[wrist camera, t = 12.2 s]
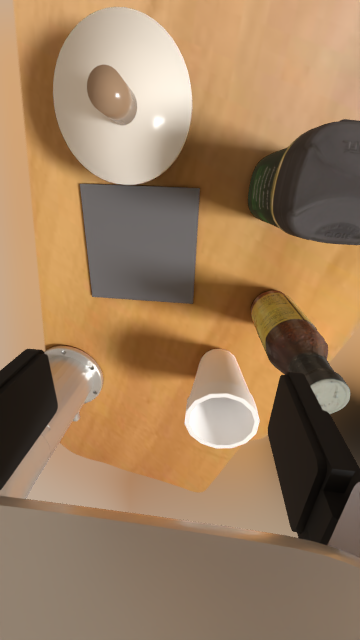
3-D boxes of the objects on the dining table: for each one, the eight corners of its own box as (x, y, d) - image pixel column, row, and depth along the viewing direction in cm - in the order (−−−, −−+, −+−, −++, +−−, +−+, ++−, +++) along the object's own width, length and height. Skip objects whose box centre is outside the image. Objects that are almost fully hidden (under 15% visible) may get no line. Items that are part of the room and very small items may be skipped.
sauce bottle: (242, 318, 42) (267, 410, 24) (261, 282, 39) (305, 355, 21) (280, 332, 42) (333, 434, 24) (302, 298, 39) (379, 383, 21)
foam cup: (183, 376, 48) (175, 435, 36) (201, 333, 44) (198, 384, 32) (233, 392, 48) (241, 456, 36) (255, 351, 44) (272, 408, 32)
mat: (192, 302, 41) (192, 303, 41) (93, 295, 43) (92, 296, 42) (199, 188, 35) (199, 188, 34) (81, 183, 36) (79, 183, 36)
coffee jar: (242, 220, 36) (270, 241, 19) (254, 151, 32) (302, 103, 16) (315, 228, 35) (410, 257, 19) (336, 159, 32) (475, 118, 15)
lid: (189, 187, 30) (185, 185, 25) (68, 183, 31) (41, 180, 26) (196, 12, 24) (192, -36, 19) (46, 15, 25) (6, -30, 20)
